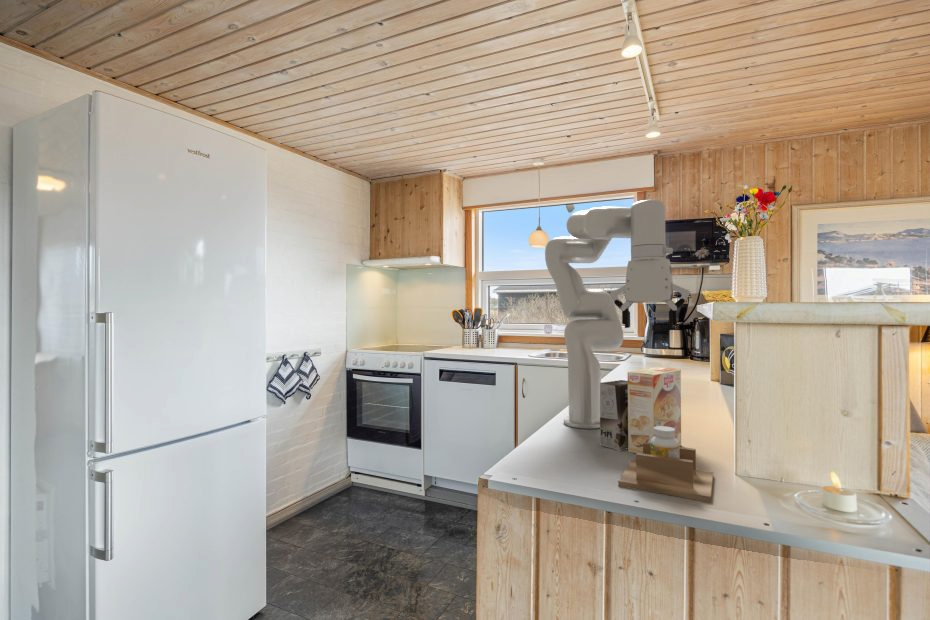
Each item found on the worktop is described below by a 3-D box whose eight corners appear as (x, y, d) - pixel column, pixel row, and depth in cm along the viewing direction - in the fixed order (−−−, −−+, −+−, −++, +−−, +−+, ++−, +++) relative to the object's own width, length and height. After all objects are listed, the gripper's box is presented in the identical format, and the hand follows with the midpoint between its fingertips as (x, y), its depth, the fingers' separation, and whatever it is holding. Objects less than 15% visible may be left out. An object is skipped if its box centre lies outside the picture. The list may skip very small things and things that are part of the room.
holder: (631, 464, 102) (631, 437, 102) (713, 477, 94) (712, 447, 94) (618, 486, 90) (617, 455, 90) (710, 502, 82) (710, 468, 82)
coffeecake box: (655, 458, 106) (654, 374, 106) (626, 452, 111) (625, 371, 111) (683, 445, 116) (682, 368, 116) (655, 439, 121) (654, 366, 121)
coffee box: (620, 451, 111) (619, 385, 111) (599, 445, 117) (598, 382, 117) (643, 445, 116) (642, 381, 116) (622, 439, 122) (621, 378, 122)
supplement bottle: (686, 479, 90) (685, 430, 90) (663, 482, 89) (662, 433, 89) (667, 470, 95) (666, 424, 95) (645, 473, 94) (644, 426, 94)
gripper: (690, 253, 105) (691, 327, 105) (613, 258, 114) (614, 327, 114) (688, 249, 99) (689, 329, 99) (606, 255, 108) (607, 328, 108)
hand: (649, 327), depth 106 cm, fingers open, 9 cm apart
